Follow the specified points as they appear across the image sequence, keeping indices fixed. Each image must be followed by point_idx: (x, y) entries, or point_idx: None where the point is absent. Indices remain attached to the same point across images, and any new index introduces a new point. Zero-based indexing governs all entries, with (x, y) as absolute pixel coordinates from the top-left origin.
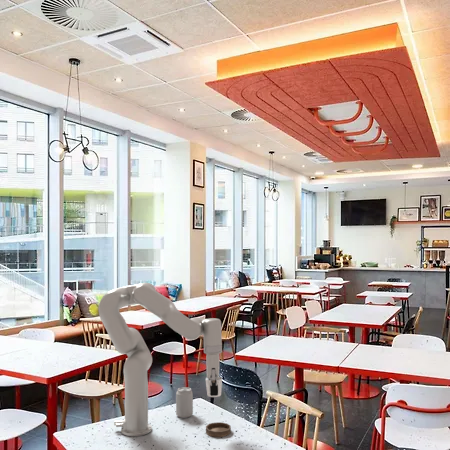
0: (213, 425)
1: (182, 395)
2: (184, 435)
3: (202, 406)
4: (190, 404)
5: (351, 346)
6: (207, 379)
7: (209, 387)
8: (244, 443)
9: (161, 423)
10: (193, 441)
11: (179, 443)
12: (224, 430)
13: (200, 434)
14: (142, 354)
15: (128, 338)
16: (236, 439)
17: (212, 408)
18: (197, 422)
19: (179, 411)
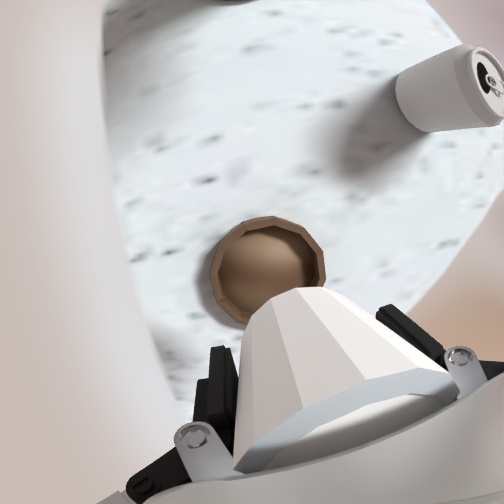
0: (308, 244)
1: (453, 70)
2: (208, 130)
3: (488, 165)
4: (440, 118)
5: None
6: (286, 433)
7: (245, 379)
8: (179, 371)
9: (325, 21)
10: (151, 187)
11: (124, 137)
12: (233, 310)
13: (230, 198)
14: None
15: None
16: (206, 345)
17: (478, 202)
18: (364, 159)
19: (406, 75)
